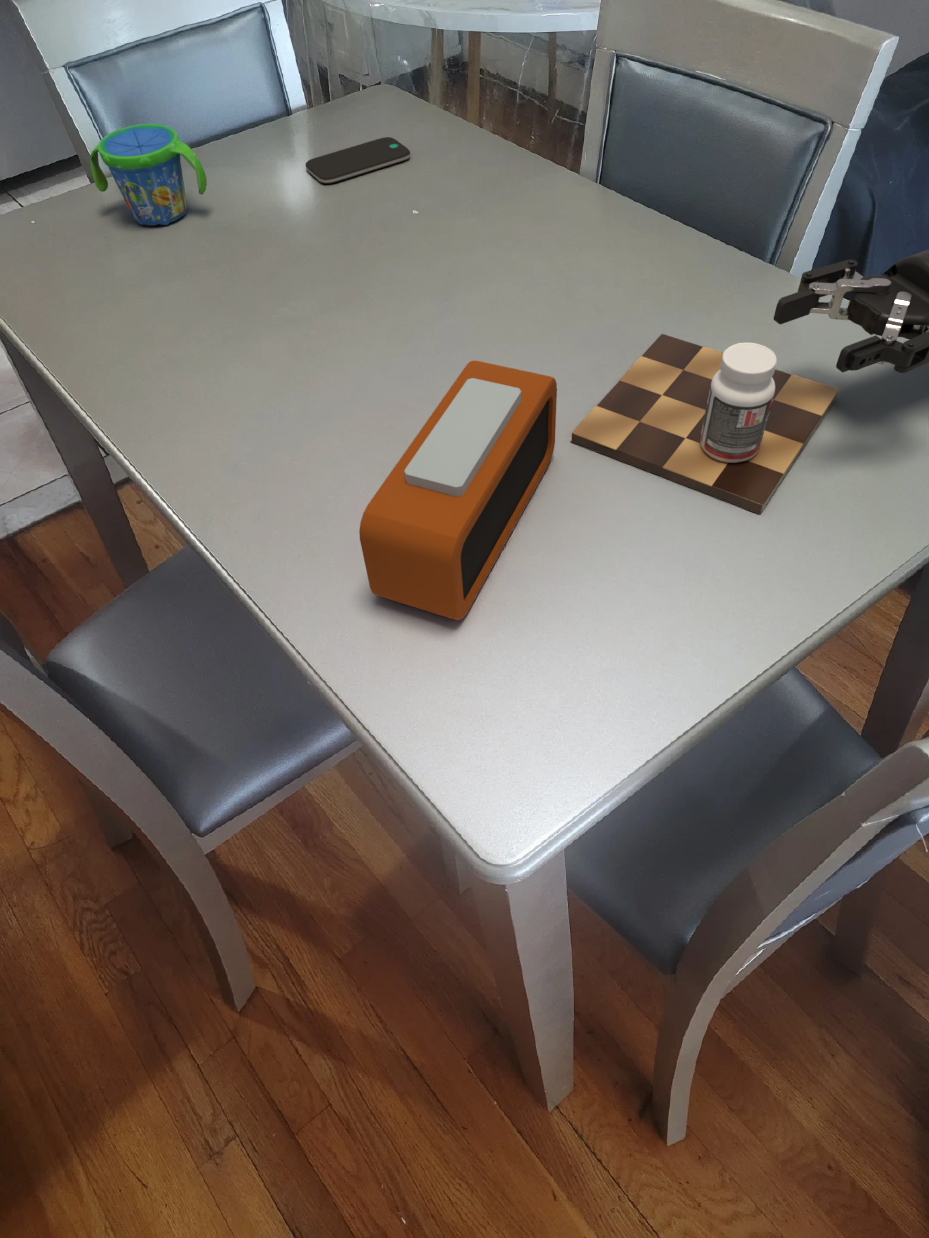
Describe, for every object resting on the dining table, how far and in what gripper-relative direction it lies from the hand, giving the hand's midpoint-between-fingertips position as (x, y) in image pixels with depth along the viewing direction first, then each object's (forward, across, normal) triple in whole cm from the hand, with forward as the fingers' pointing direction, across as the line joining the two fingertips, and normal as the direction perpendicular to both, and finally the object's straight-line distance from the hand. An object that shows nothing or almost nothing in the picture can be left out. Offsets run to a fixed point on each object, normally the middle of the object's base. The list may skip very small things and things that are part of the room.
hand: (808, 336), depth 77 cm
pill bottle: (+6, 0, +11) cm, 12 cm away
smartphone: (+14, -80, +12) cm, 82 cm away
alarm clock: (+32, -4, +12) cm, 35 cm away
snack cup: (+44, -80, +12) cm, 92 cm away
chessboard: (+4, -6, +12) cm, 14 cm away
